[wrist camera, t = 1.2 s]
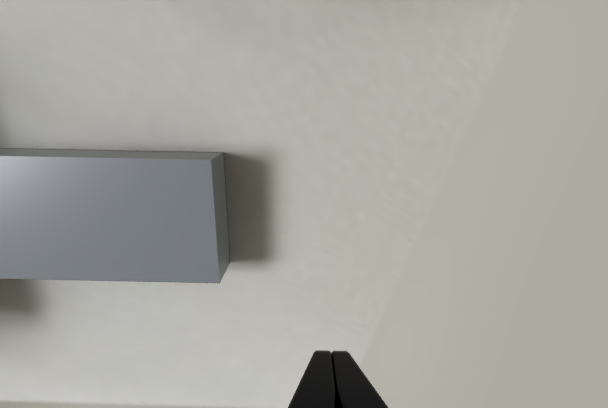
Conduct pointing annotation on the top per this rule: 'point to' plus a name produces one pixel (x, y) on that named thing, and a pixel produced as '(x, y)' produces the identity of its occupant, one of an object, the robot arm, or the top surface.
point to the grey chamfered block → (113, 215)
